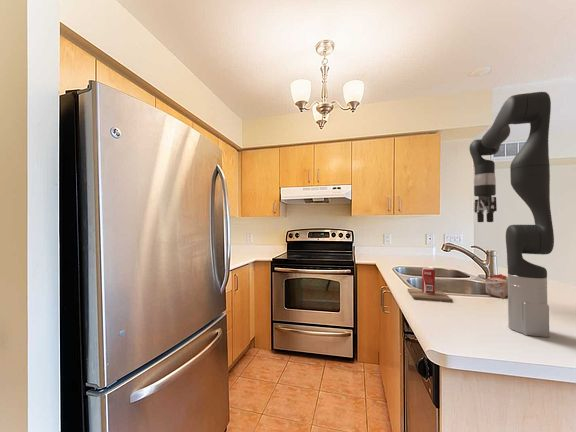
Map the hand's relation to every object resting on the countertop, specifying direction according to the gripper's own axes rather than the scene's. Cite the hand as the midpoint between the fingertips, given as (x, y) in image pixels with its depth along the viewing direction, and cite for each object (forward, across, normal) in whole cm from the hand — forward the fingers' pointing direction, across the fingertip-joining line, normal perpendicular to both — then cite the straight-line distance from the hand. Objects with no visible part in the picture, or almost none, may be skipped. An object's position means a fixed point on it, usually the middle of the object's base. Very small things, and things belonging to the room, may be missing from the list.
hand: (485, 222), depth 114 cm
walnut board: (+34, +2, +22) cm, 41 cm away
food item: (+34, +13, -11) cm, 38 cm away
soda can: (+33, +2, +22) cm, 40 cm away
